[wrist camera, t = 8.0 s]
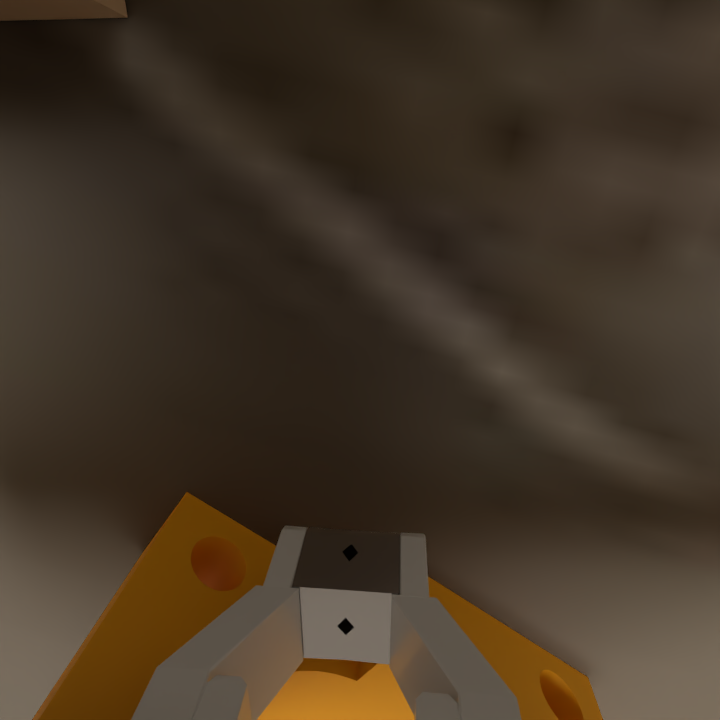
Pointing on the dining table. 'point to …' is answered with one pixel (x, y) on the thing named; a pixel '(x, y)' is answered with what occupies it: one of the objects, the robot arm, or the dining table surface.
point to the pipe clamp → (313, 676)
